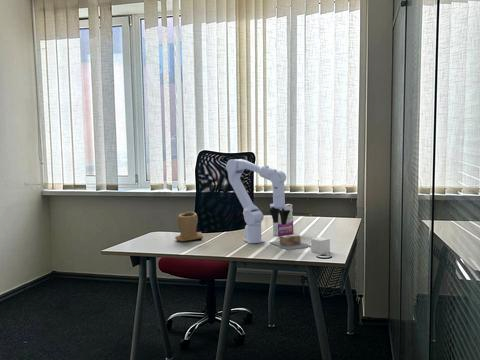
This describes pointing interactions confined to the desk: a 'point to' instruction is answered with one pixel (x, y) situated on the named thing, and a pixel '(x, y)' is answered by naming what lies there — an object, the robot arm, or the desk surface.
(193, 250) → the desk surface
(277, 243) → the rubber mat
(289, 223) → the candy bar box
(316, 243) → the white cube
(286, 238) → the brown box with strip
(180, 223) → the stone cup
